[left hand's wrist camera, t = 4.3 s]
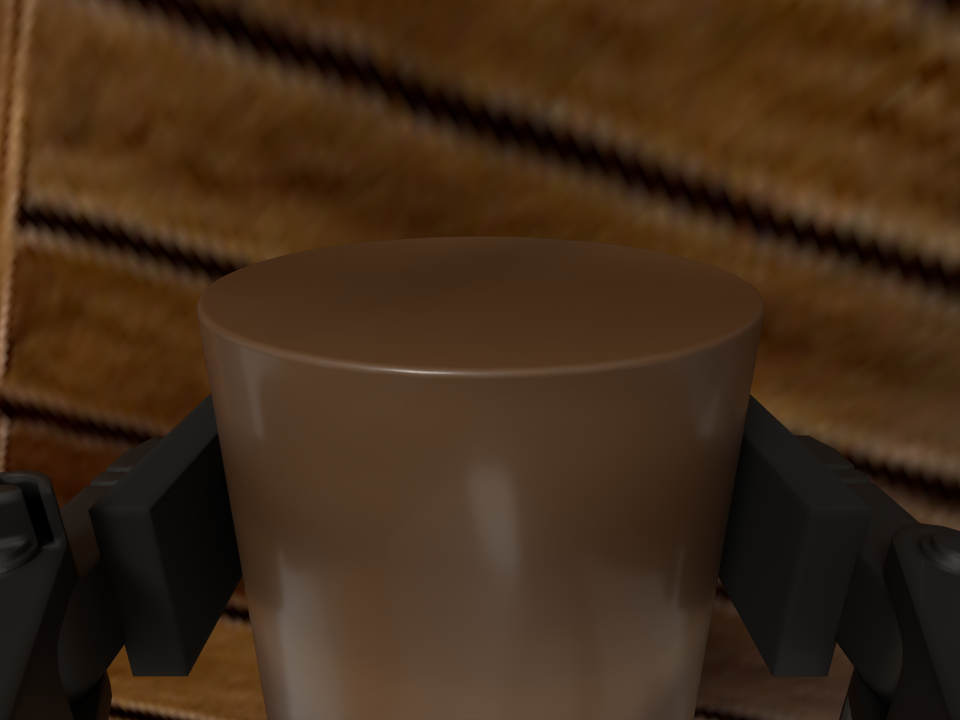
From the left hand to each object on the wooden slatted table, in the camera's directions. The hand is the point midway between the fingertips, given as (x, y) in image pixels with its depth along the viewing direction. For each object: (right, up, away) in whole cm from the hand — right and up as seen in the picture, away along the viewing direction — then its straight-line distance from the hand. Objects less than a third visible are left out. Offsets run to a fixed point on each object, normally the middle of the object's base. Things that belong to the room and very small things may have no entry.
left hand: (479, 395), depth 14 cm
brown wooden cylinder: (0, -7, +3) cm, 8 cm away
